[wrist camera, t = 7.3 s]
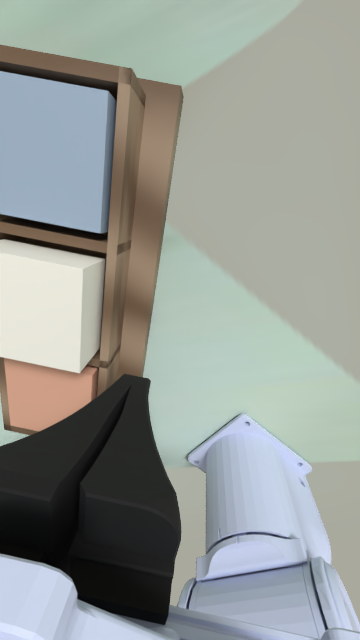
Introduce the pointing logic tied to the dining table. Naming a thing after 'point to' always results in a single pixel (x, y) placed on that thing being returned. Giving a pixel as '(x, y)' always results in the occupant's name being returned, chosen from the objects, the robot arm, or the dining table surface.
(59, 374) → the terracotta key
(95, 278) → the cream key
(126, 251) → the wooden compartment tray
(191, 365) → the dining table surface
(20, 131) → the slate blue key
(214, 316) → the dining table surface
